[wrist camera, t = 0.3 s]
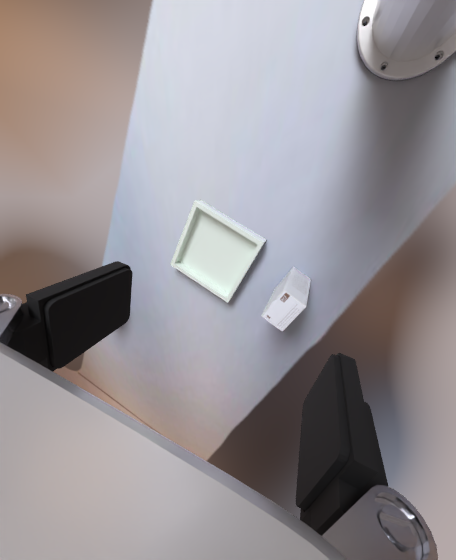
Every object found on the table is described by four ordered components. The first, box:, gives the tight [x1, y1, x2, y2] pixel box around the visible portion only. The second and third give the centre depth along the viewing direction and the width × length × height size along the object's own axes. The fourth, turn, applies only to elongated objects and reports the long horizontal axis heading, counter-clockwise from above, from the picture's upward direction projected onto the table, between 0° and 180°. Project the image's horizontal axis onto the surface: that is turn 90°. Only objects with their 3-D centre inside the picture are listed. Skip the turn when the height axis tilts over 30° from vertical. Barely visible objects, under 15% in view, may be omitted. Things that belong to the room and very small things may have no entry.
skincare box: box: [262, 267, 311, 331], centre depth 40 cm, size 6×4×12 cm
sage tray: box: [170, 200, 266, 302], centre depth 47 cm, size 15×15×2 cm
